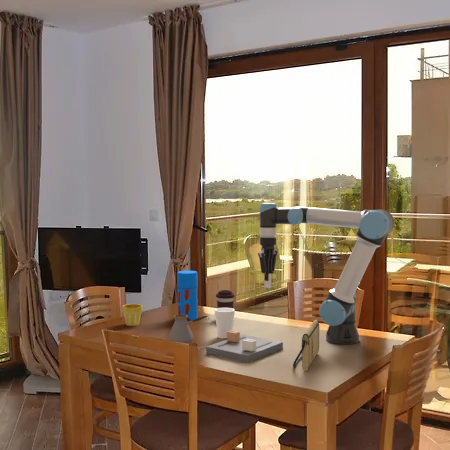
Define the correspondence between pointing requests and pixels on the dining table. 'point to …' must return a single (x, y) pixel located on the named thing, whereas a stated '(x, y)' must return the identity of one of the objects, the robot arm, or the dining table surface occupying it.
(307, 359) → the clutch purse
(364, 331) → the dining table surface
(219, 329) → the foam cup
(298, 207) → the robot arm
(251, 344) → the fader
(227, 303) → the coffee cup
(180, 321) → the coffee pot
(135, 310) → the plant pot
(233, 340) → the fader
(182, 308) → the thermos
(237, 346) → the slider panel
